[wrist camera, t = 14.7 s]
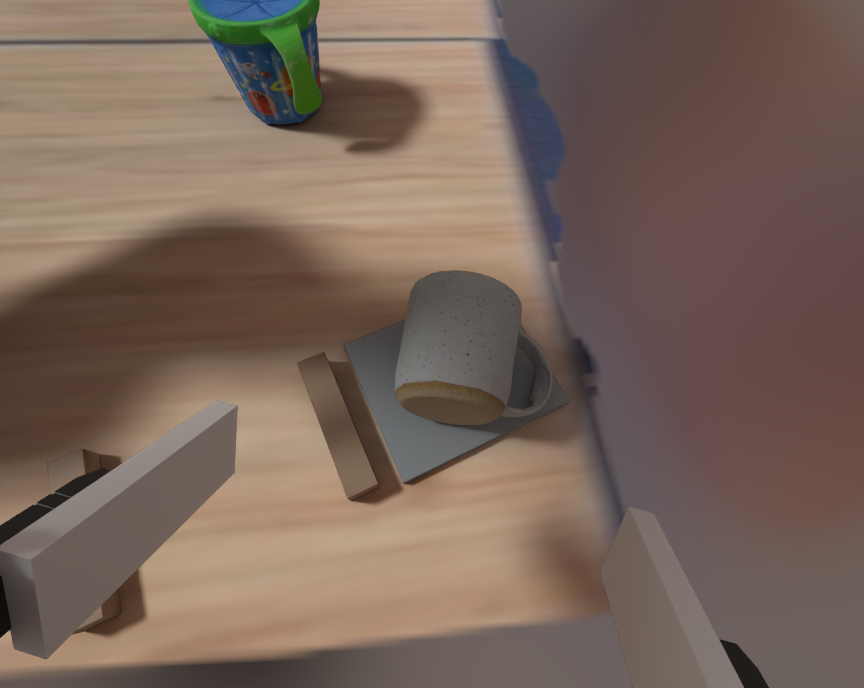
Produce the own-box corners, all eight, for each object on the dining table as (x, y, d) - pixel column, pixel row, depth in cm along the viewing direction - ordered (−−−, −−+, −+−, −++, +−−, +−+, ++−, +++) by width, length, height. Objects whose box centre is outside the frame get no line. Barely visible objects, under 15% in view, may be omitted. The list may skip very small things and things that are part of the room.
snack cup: (216, 77, 46) (167, -40, 37) (307, 54, 49) (282, -62, 39) (260, 167, 40) (214, 54, 31) (361, 135, 43) (346, 22, 33)
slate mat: (344, 348, 32) (343, 344, 31) (492, 288, 35) (493, 284, 34) (403, 483, 28) (403, 482, 27) (567, 403, 30) (569, 400, 30)
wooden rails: (66, 467, 27) (47, 462, 26) (328, 361, 31) (323, 351, 30) (83, 631, 24) (61, 637, 22) (379, 487, 27) (377, 483, 26)
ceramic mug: (391, 421, 29) (385, 380, 22) (411, 318, 32) (411, 256, 25) (544, 444, 29) (587, 411, 22) (547, 339, 32) (584, 282, 25)
